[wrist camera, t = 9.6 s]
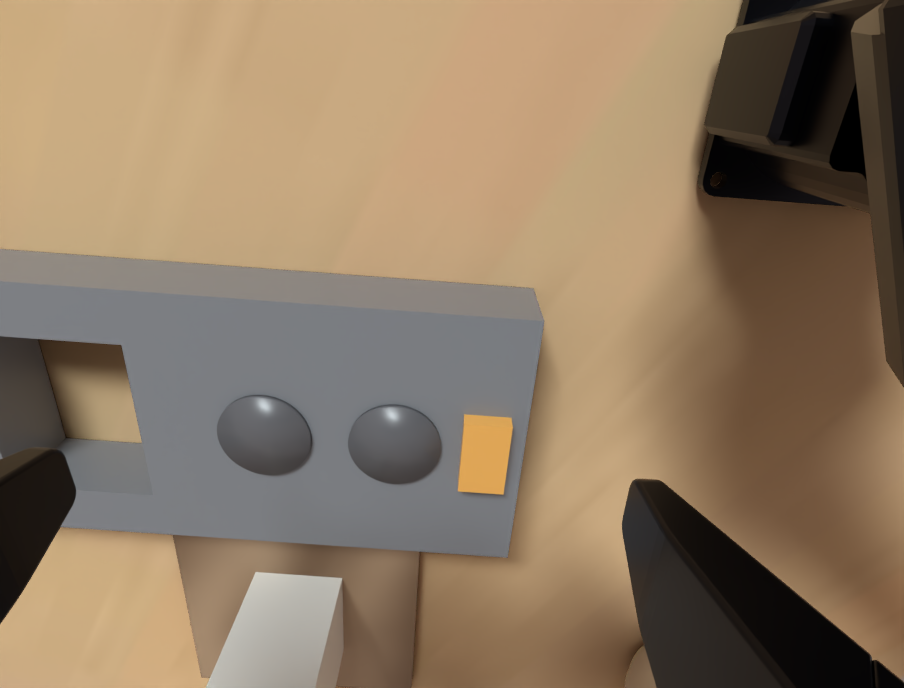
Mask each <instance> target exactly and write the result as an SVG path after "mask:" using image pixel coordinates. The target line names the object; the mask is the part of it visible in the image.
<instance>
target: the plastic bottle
mask: <svg viewBox="0 0 904 688" xmlns="http://www.w3.org/2000/svg"><path fill="white" fill-rule="evenodd" d="M625 688H656V684H655V681H654V677H653V674H652V671H651V667H650V664H649V660H648V657H647V654H646V650H645V647H644V645H643V646H642V647H641V648H640V649H639V650H638V651H637V652H636V654H635V655H634V656H633V658H632V661H631V663H630V666H629V669H628V671H627V674H626V677H625Z"/></svg>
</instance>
